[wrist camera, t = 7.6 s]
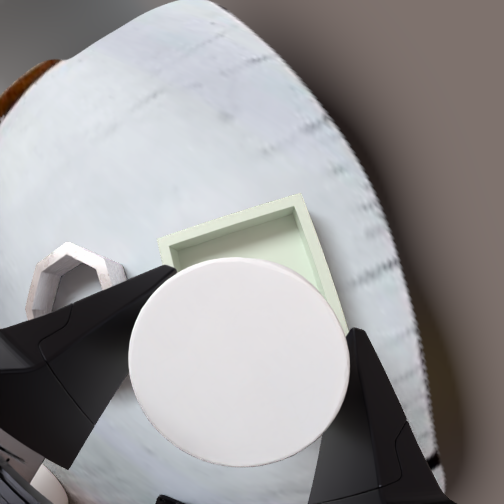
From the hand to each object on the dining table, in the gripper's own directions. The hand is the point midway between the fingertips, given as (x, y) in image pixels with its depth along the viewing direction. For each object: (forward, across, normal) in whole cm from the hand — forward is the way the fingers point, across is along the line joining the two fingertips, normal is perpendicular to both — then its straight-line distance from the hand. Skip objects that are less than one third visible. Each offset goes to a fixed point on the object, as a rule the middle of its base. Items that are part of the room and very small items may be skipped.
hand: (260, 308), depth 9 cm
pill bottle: (+4, 0, +6) cm, 7 cm away
